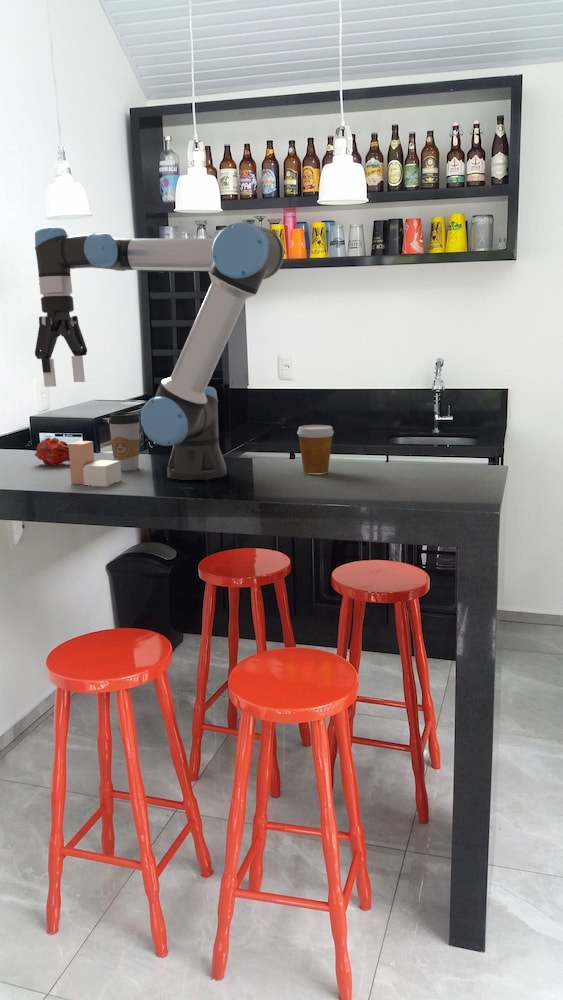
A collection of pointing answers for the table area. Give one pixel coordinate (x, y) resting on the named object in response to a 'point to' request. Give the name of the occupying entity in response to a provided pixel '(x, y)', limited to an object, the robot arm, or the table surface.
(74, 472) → the salmon orange rectangular block
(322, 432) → the disposable coffee cup
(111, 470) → the cream white block
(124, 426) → the coffee cup
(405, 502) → the table surface
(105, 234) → the robot arm
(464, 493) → the table surface
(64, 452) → the dragon fruit
